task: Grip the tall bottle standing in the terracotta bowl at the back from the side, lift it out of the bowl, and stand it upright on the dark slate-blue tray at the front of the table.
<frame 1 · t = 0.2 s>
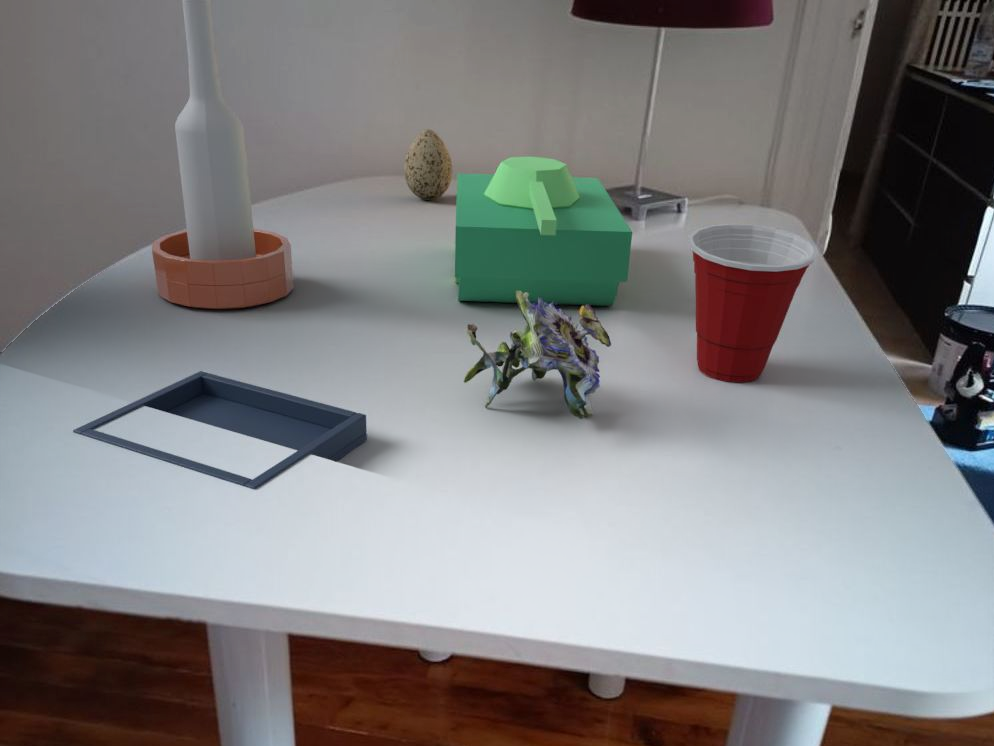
plastic cup: (728, 373, 83), on the table
toy tank: (532, 285, 104), on the table
bottle: (226, 289, 96), resting on bowl
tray: (227, 448, 66), on the table
bowl: (226, 291, 96), on the table
passion flower: (532, 411, 74), on the table
decorative egg: (428, 201, 138), on the table
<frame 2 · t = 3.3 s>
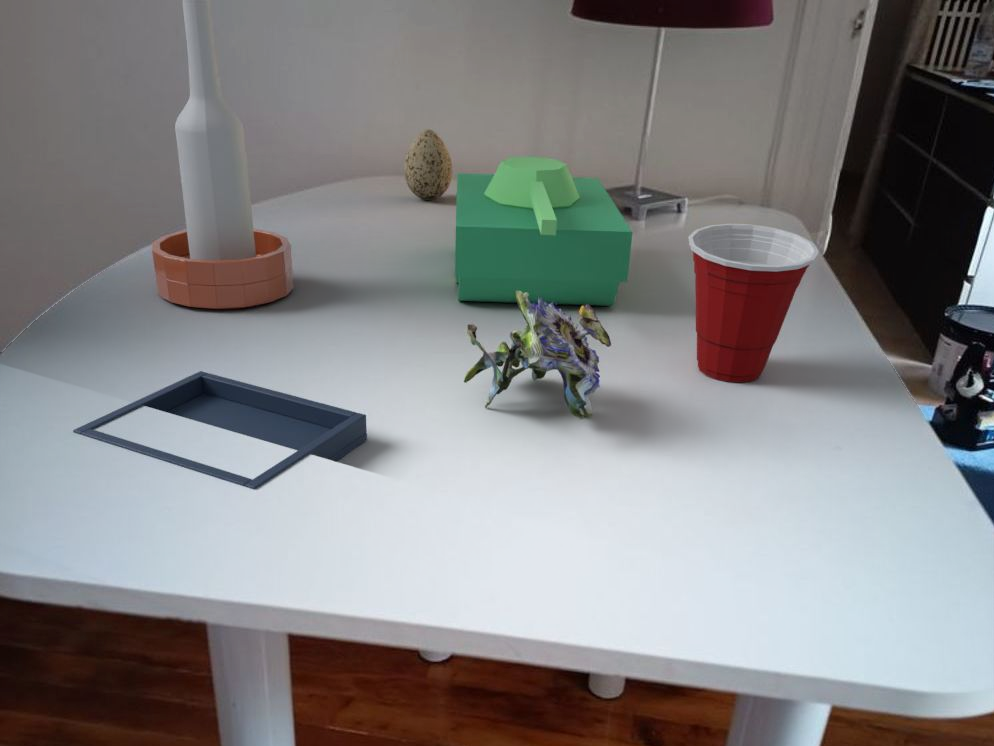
nothing on the table moved.
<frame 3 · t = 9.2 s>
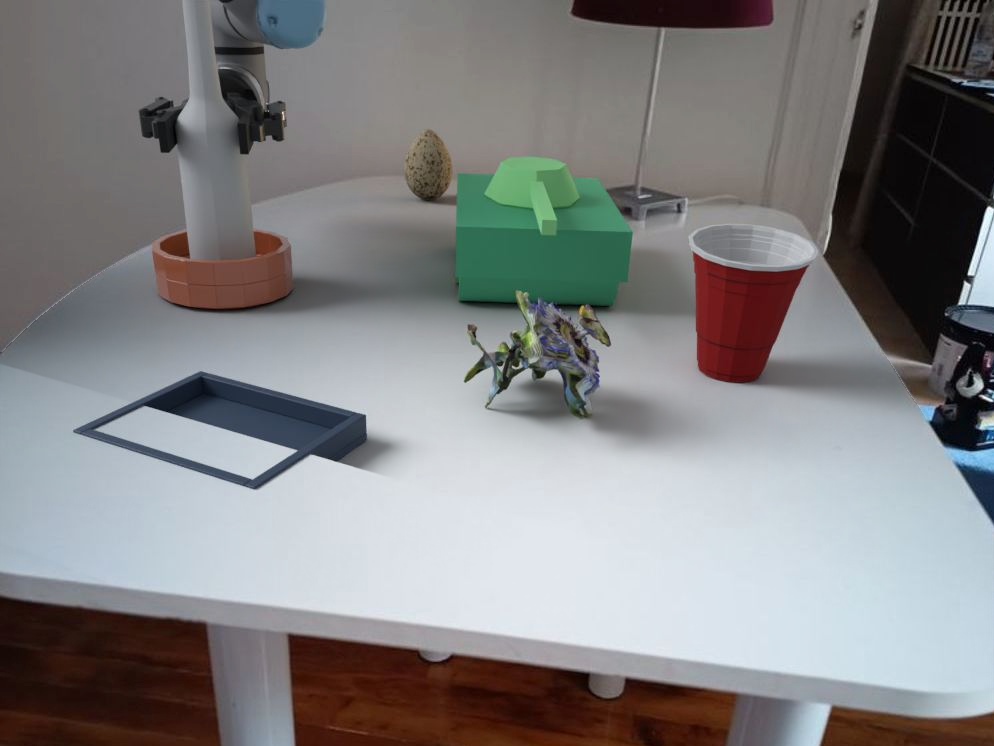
hand: (203, 138, 84), 16 cm above the table, tool horizontal, fingers closed on bottle, 6 cm apart
bottle: (226, 289, 96), resting on bowl, touching gripper
everything else where it was.
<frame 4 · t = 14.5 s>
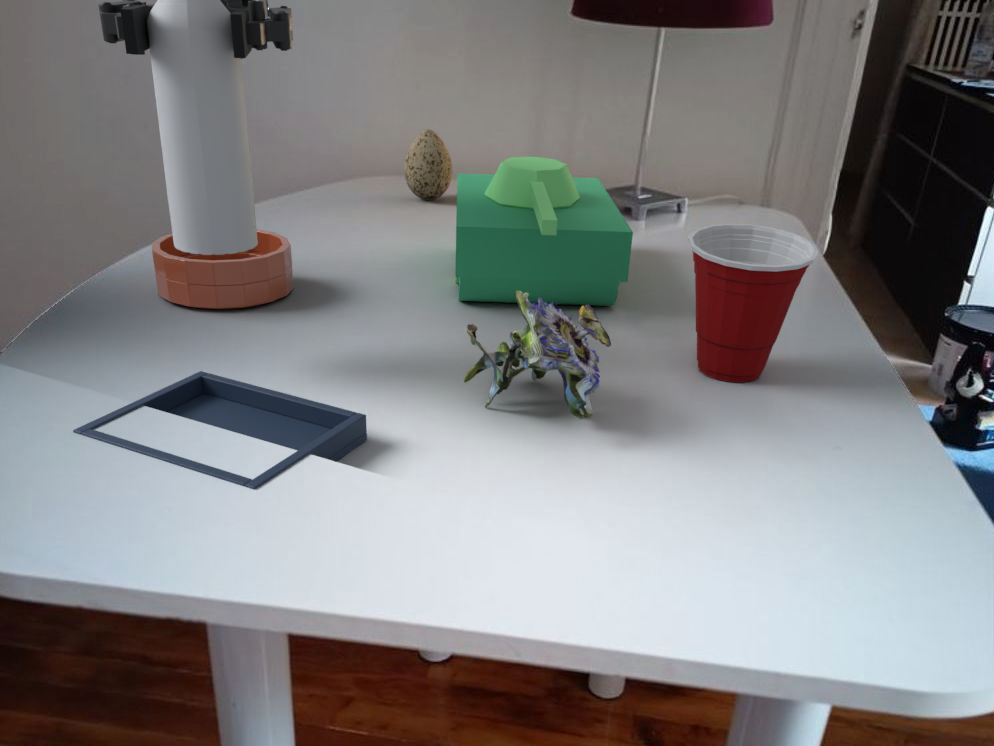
hand: (184, 34, 62), 26 cm above the table, tool horizontal, fingers closed on bottle, 6 cm apart
bottle: (216, 246, 74), point 10 cm above the table, touching gripper
everything else where it was.
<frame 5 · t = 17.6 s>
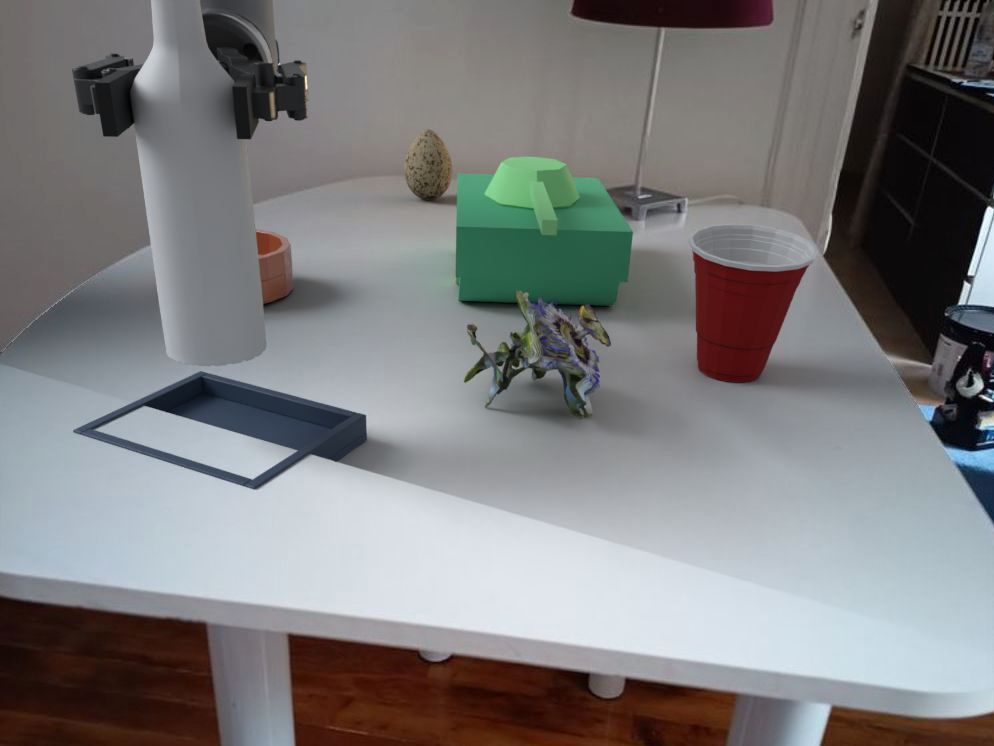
hand: (174, 111, 50), 23 cm above the table, tool horizontal, fingers closed on bottle, 6 cm apart
bottle: (217, 350, 62), point 7 cm above the table, touching gripper
everything else where it was.
when the fingers open (16 cm above the table, at t = 19.8 s): bottle stays where it is, resting on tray.
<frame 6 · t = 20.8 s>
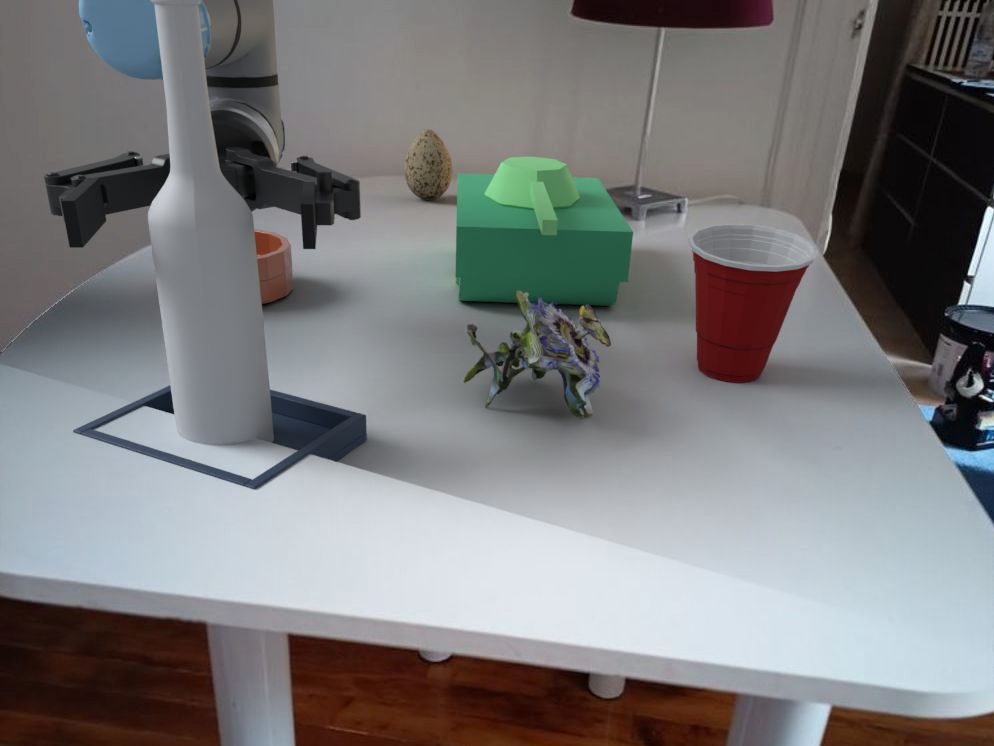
hand: (192, 226, 55), 17 cm above the table, tool horizontal, fingers open, 13 cm apart
bottle: (227, 443, 66), resting on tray
everything else where it was.
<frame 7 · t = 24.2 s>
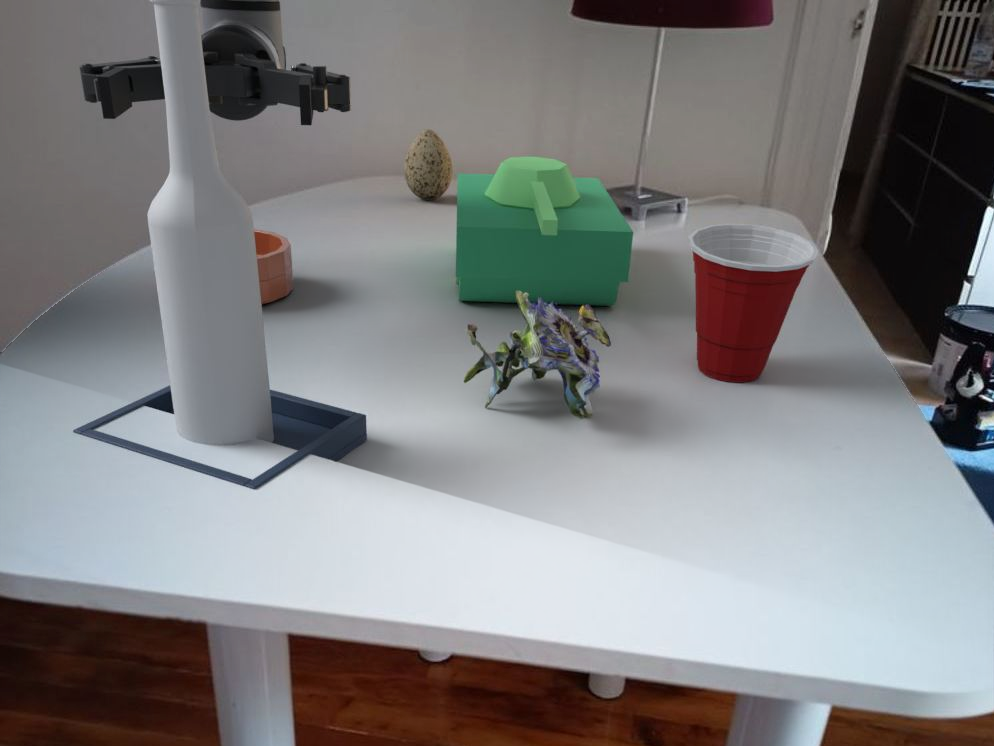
hand: (207, 101, 65), 22 cm above the table, tool horizontal, fingers open, 13 cm apart
nothing on the table moved.
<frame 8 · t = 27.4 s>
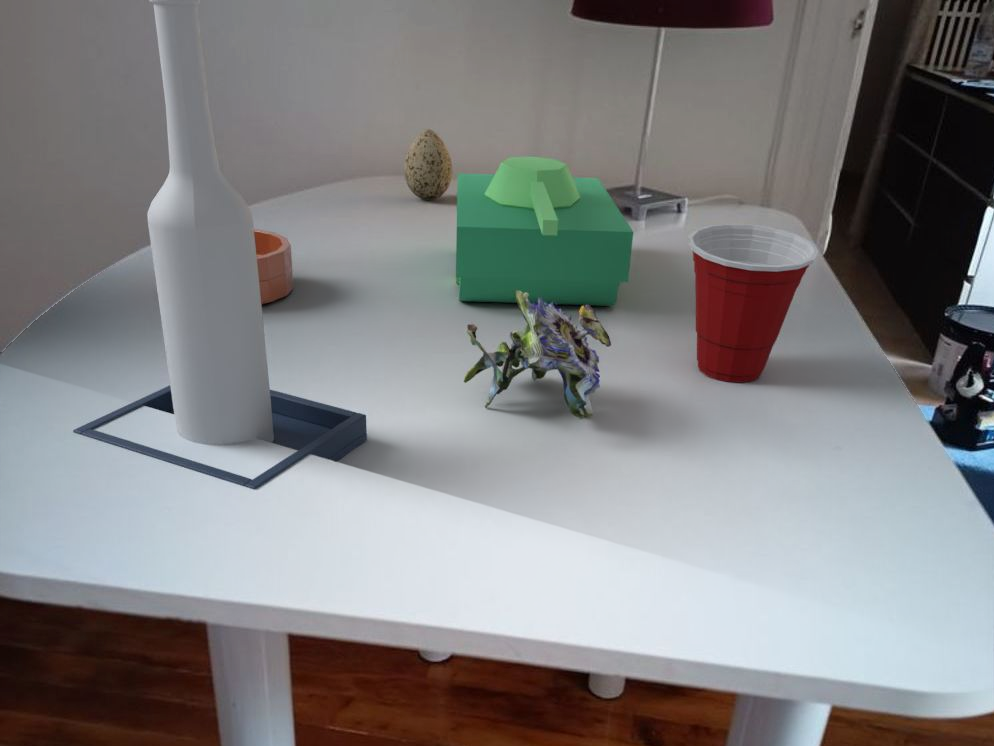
nothing on the table moved.
at the end: bottle inside the target area in the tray (0.0 cm from its centre), point 0.4 cm above the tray's base; bottle tilted 0°; the gripper is holding nothing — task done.
